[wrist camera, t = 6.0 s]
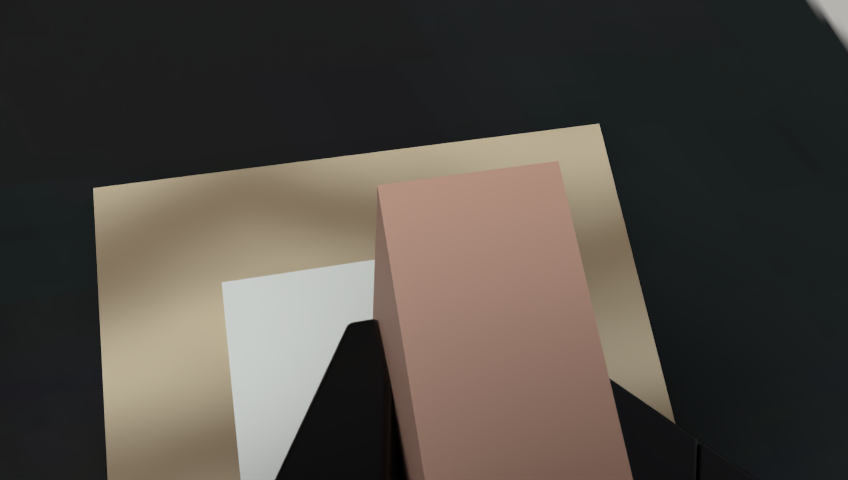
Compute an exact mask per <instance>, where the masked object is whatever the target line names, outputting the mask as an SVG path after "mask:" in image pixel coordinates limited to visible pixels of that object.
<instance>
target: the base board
mask: <svg viewBox="0 0 848 480" xmlns="http://www.w3.org/2000/svg"><path fill="white" fill-rule="evenodd" d="M554 161H559V166H560V170H561V174H562V178H563V183H564V187H565V191H566V195H567V200H568V204H569V208H570V213H571V217H572V221H573V225H574V230H575V234H576V238H577V242H578V247H579V251H580V255H581V260H582V264H583V268H584V272H585V277H586V281H587V285H588V289H589V294H590V298H591V302H592V306H593V311H594V315H595V319H596V324H597V328H598V332H599V336H600V341H601V345H602V349H603V353H604V358H605V362H606V366H607V371H608V375H609V378H610V379H611V380H613V381H614V382H616V383H617V384H619V385H620V386H622V387H623V388H624V389H626V390H627V391H629V392H630V393H632V394H633V395H635V396H636V397H637V398H639V399H640V400H642V401H643V402H645V403H646V404H648V405H649V406H651V407H652V408H653V409H655V410H656V411H658V412H659V413H661V414H662V415H664V416H665V417H666V418H668V419H669V420H671V421H672V422H674V423H675V420H674V416H673V412H672V408H671V405H670V401H669V397H668V393H667V389H666V385H665V381H664V377H663V373H662V369H661V365H660V361H659V357H658V353H657V349H656V345H655V342H654V338H653V334H652V330H651V326H650V322H649V318H648V314H647V310H646V306H645V302H644V298H643V294H642V290H641V286H640V282H639V279H638V275H637V271H636V267H635V263H634V259H633V255H632V251H631V247H630V243H629V239H628V235H627V231H626V227H625V223H624V219H623V216H622V212H621V208H620V204H619V200H618V196H617V192H616V188H615V184H614V180H613V176H612V172H611V168H610V164H609V160H608V156H607V153H606V149H605V145H604V141H603V137H602V133H601V129H600V125H599V124H593V125H586V126H578V127H570V128H562V129H554V130H546V131H538V132H531V133H523V134H515V135H507V136H499V137H491V138H483V139H476V140H468V141H460V142H452V143H444V144H436V145H429V146H421V147H413V148H405V149H397V150H389V151H381V152H374V153H366V154H358V155H350V156H342V157H334V158H326V159H319V160H311V161H303V162H295V163H287V164H279V165H271V166H264V167H256V168H248V169H240V170H232V171H224V172H217V173H209V174H201V175H193V176H185V177H177V178H169V179H162V180H154V181H146V182H138V183H130V184H122V185H114V186H107V187H99V188H93V193H94V213H95V233H96V253H97V273H98V293H99V313H100V333H101V353H102V373H103V394H104V414H105V434H106V454H107V474H108V480H241V479H240V468H239V458H238V448H237V437H236V427H235V417H234V406H233V396H232V386H231V375H230V365H229V354H228V344H227V334H226V323H225V313H224V303H223V292H222V282H227V281H234V280H240V279H247V278H254V277H260V276H267V275H274V274H281V273H287V272H294V271H301V270H308V269H314V268H321V267H328V266H334V265H341V264H348V263H355V262H361V261H368V260H375V240H376V211H377V185H382V184H390V183H397V182H405V181H412V180H419V179H427V178H434V177H442V176H449V175H457V174H464V173H472V172H479V171H487V170H494V169H502V168H509V167H517V166H524V165H531V164H539V163H546V162H554Z"/></svg>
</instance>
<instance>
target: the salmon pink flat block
mask: <svg viewBox="0 0 848 480" xmlns="http://www.w3.org/2000/svg"><path fill="white" fill-rule="evenodd" d="M373 319H376V320H378V323H379V328H380V333H381V337H382V342H383V347H384V352H385V357H386V362H387V366H388V371H389V376H390V381H391V387H392V395H393V404H394V412H395V420H396V429H397V437H398V445H399V454H400V462H401V470H402V479H403V480H633V477H632V473H631V469H630V464H629V460H628V456H627V452H626V447H625V443H624V439H623V435H622V430H621V426H620V422H619V418H618V413H617V409H616V405H615V400H614V396H613V392H612V388H611V383H610V379H609V375H608V371H607V366H606V362H605V358H604V353H603V349H602V345H601V341H600V336H599V332H598V328H597V324H596V319H595V315H594V311H593V306H592V302H591V298H590V294H589V289H588V285H587V281H586V277H585V272H584V268H583V264H582V260H581V255H580V251H579V247H578V242H577V238H576V234H575V230H574V225H573V221H572V217H571V213H570V208H569V204H568V200H567V195H566V191H565V187H564V183H563V178H562V174H561V170H560V166H559V161H554V162H546V163H539V164H531V165H524V166H517V167H509V168H502V169H494V170H487V171H479V172H472V173H464V174H457V175H449V176H442V177H434V178H427V179H419V180H412V181H405V182H397V183H390V184H382V185H377V211H376V240H375V269H374V298H373Z"/></svg>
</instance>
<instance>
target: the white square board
mask: <svg viewBox="0 0 848 480" xmlns="http://www.w3.org/2000/svg"><path fill="white" fill-rule="evenodd" d="M374 269H375V260H368V261H361V262H355V263H348V264H341V265H334V266H328V267H321V268H314V269H308V270H301V271H294V272H287V273H281V274H274V275H267V276H260V277H254V278H247V279H240V280H234V281H227V282H222V292H223V303H224V313H225V323H226V334H227V344H228V354H229V365H230V375H231V386H232V396H233V406H234V417H235V427H236V437H237V448H238V458H239V468H240V479H241V480H275V478H276V476H277V474H278V472H279V470H280V468H281V465H282V463H283V461H284V459H285V457H286V455H287V453H288V450H289V448H290V446H291V444H292V442H293V440H294V438H295V436H296V433H297V431H298V429H299V427H300V425H301V423H302V421H303V419H304V416H305V414H306V412H307V410H308V408H309V406H310V404H311V401H312V399H313V397H314V395H315V393H316V391H317V389H318V387H319V384H320V382H321V380H322V378H323V376H324V374H325V372H326V370H327V367H328V365H329V363H330V361H331V359H332V357H333V355H334V352H335V350H336V348H337V346H338V344H339V342H340V340H341V338H342V335H343V333H344V331H345V329H346V327H347V325H348V324H350V323H352V322H358V321H364V320H370V319H373V298H374Z"/></svg>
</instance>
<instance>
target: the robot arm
mask: <svg viewBox="0 0 848 480" xmlns="http://www.w3.org/2000/svg"><path fill="white" fill-rule="evenodd" d="M609 379H610V378H609ZM610 383H611V388H612V392H613V396H614V400H615V405H616V409H617V413H618V418H619V422H620V426H621V430H622V435H623V439H624V443H625V447H626V452H627V456H628V460H629V464H630V469H631V473H632V477H633V480H758V479H756V478H755V477H753V476H752V475H750V474H749V473H747V472H746V471H744V470H743V469H741V468H740V467H738V466H737V465H735V464H733V463H732V462H731V461H729V460H728V459H726V458H725V457H723V456H722V455H720V454H719V453H717V452H716V451H715V450H713V449H712V448H710V447H709V446H707V445H706V444H704V443H700V444H699V445H698V440H697V438H695V437H694V436H692V435H691V434H690V433H688V432H687V431H685V430H684V429H682V428H681V427H679V426H678V425H677V424H675V423H674V422H672V421H671V420H669V419H668V418H666V417H665V416H664V415H662V414H661V413H659V412H658V411H656V410H655V409H653V408H652V407H651V406H649V405H648V404H646V403H645V402H643V401H642V400H640V399H639V398H637V397H636V396H635V395H633V394H632V393H630V392H629V391H627V390H626V389H624V388H623V387H622V386H620V385H619V384H617V383H616V382H614V381H613V380H611V379H610ZM275 480H403V479H402V470H401V462H400V454H399V445H398V437H397V429H396V420H395V412H394V404H393V395H392V387H391V381H390V376H389V371H388V366H387V362H386V357H385V352H384V347H383V342H382V337H381V333H380V328H379V323H378V320H376V319H370V320H364V321H358V322H352V323H350V324H348V325H347V327H346V329H345V331H344V333H343V335H342V338H341V340H340V342H339V344H338V346H337V348H336V350H335V352H334V355H333V357H332V359H331V361H330V363H329V365H328V367H327V370H326V372H325V374H324V376H323V378H322V380H321V382H320V384H319V387H318V389H317V391H316V393H315V395H314V397H313V399H312V401H311V404H310V406H309V408H308V410H307V412H306V414H305V416H304V419H303V421H302V423H301V425H300V427H299V429H298V431H297V433H296V436H295V438H294V440H293V442H292V444H291V446H290V448H289V450H288V453H287V455H286V457H285V459H284V461H283V463H282V465H281V468H280V470H279V472H278V474H277V476H276V478H275Z"/></svg>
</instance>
